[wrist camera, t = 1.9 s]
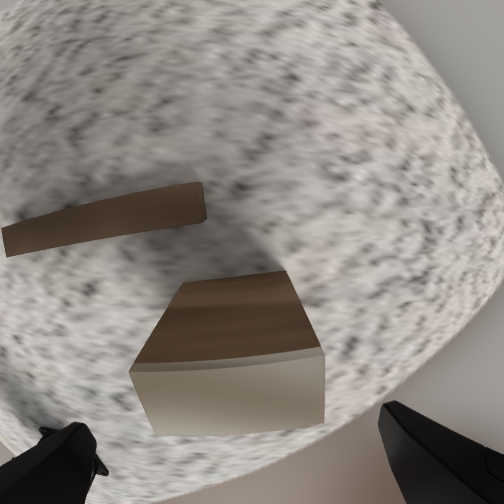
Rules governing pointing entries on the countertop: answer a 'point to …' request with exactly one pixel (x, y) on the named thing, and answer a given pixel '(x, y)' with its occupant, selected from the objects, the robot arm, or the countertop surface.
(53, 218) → the strip
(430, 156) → the countertop surface
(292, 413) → the slab
